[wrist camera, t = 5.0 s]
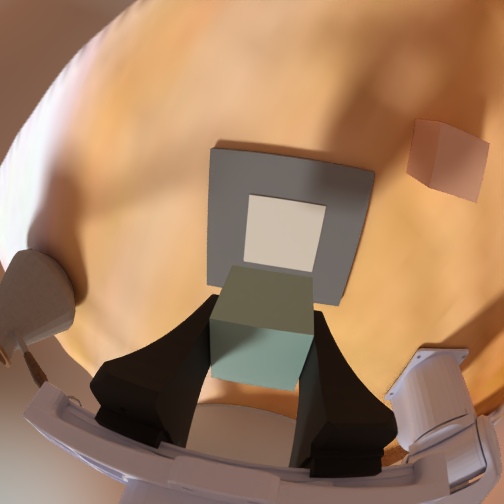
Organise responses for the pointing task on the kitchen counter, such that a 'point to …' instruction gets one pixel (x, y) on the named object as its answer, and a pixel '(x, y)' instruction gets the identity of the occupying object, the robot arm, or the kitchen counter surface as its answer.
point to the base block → (262, 328)
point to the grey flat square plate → (285, 217)
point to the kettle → (242, 434)
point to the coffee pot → (33, 306)
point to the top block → (447, 159)
